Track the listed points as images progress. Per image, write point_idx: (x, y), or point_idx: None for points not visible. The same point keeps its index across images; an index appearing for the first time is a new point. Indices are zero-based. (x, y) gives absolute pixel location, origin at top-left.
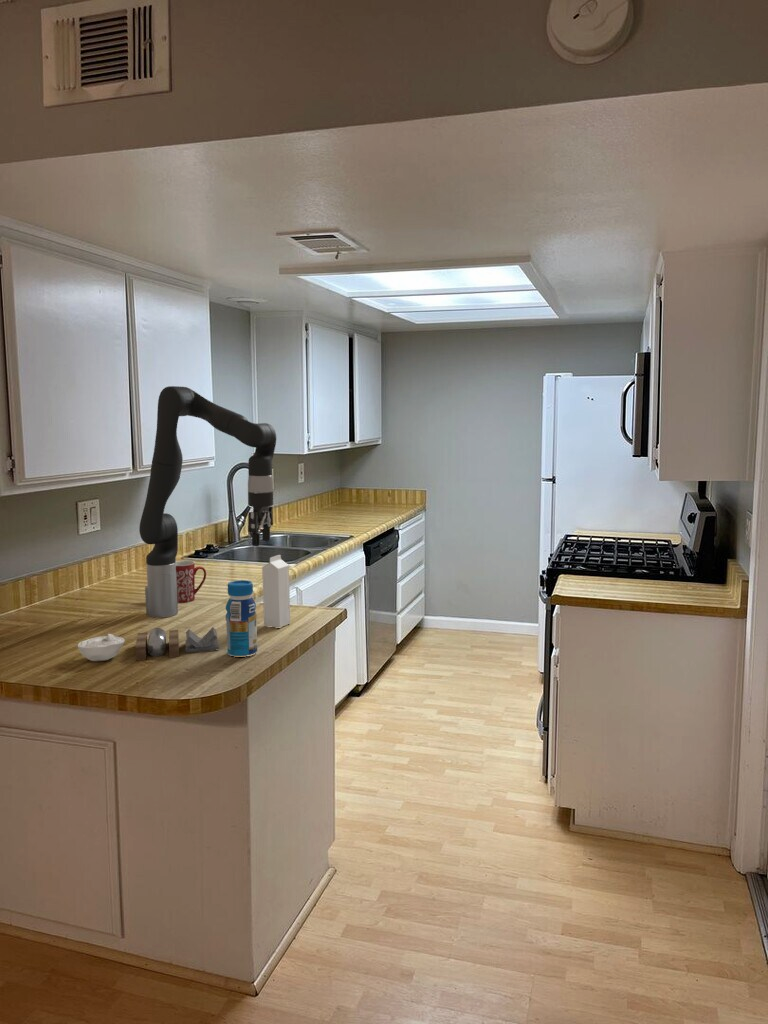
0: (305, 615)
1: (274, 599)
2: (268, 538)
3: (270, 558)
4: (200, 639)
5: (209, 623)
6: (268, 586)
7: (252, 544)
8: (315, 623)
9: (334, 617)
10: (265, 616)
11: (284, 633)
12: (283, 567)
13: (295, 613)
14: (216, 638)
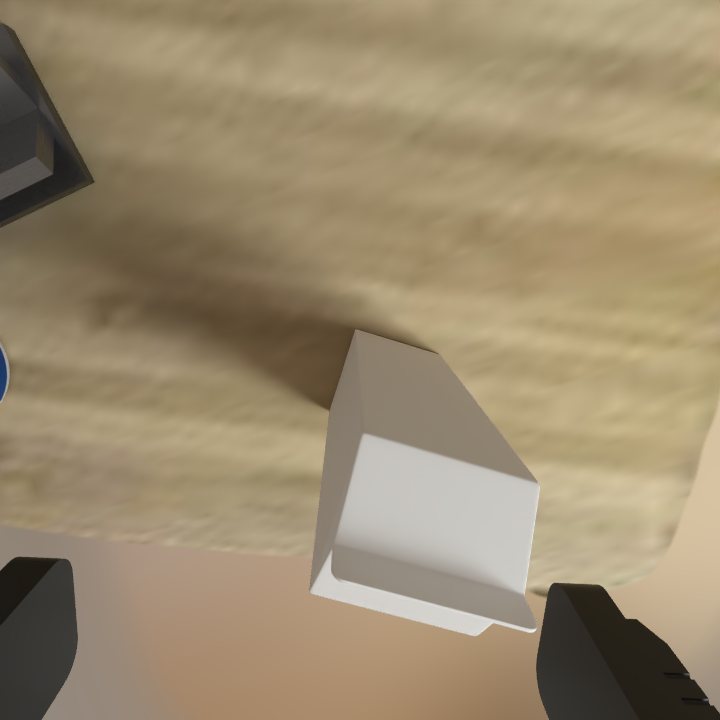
0: (562, 463)
1: (332, 439)
2: (553, 705)
3: (340, 576)
4: (11, 111)
5: (381, 13)
6: (343, 428)
7: (16, 563)
8: None
9: (533, 588)
10: (352, 349)
11: (266, 449)
12: (389, 612)
13: (596, 409)
14: (70, 182)
